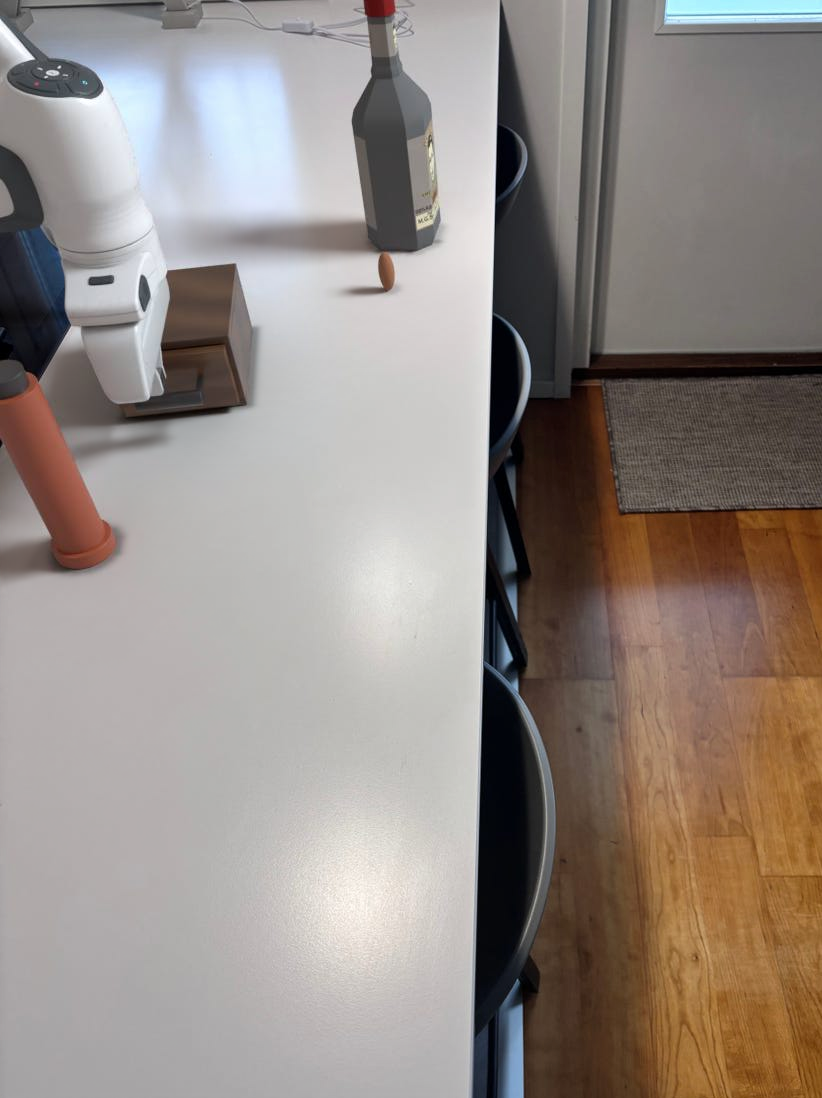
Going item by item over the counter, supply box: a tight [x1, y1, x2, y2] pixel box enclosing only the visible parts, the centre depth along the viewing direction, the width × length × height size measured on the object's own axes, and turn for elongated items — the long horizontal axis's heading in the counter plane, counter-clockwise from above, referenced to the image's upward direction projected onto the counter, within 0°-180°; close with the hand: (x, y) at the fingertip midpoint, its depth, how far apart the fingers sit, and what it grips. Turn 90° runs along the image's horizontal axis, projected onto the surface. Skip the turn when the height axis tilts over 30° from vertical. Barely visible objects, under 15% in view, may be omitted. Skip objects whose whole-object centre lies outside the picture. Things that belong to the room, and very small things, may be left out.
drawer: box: [121, 344, 240, 418], centre depth 110 cm, size 19×12×7 cm, turn 6°
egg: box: [377, 251, 396, 291], centre depth 124 cm, size 2×2×5 cm
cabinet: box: [118, 262, 254, 419], centre depth 112 cm, size 16×14×9 cm
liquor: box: [351, 0, 442, 252], centre depth 124 cm, size 9×9×30 cm
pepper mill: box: [0, 359, 117, 570], centre depth 89 cm, size 6×6×20 cm
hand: (157, 388), depth 101 cm, fingers closed
